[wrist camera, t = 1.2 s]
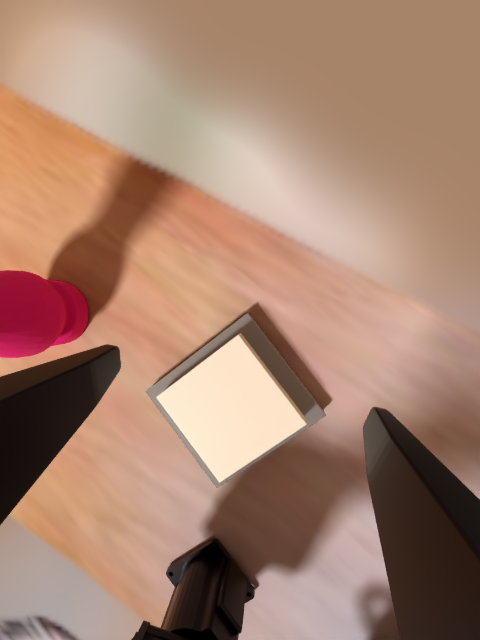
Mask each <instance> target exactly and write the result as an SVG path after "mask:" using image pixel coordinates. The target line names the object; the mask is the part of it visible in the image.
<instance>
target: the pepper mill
mask: <svg viewBox="0 0 480 640" xmlns="http://www.w3.org/2000/svg"><path fill="white" fill-rule="evenodd" d="M87 322H88V306H87V303H86V300H85V298H84V296H83V295H82V293H81V292H80V291H79V290H78V289H77V288H76V287H75V286H73V285H71V284H70V283H67V282H64V281H55V280H45V279H44V278H42V277H40V276H38V275H36V274H33V273H30V272H25V271H8V270H7V271H0V357H4V358H18V357H26V356H32V355H35V354H38V353H41V352H43V351H45V350H46V349H47V348H49V347H50V346H54V345H59V344H65V343H69V342H71V341H73V340H75V339H77V338H78V337H79V336H80V335H81V334H82V333H83V331H84V330H85V328H86V325H87Z"/></svg>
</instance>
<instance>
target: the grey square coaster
mask: <svg viewBox="0 0 480 640" xmlns="http://www.w3.org/2000/svg"><path fill="white" fill-rule="evenodd" d="M146 393H147V395H148V396H149V397H150V399H151V400H152V401H153V403H154V404H155V405H156V407H157V408H158V409H159V411H160V412H161V413H162V415H163V416H164V417H165V419H166V420H167V421H168V423H169V424H170V426H171V427H172V428H173V430H174V431H175V432H176V434H177V435H178V436H179V438H180V439H181V440H182V442H183V443H184V444H185V446H186V447H187V448H188V450H189V451H190V452H191V454H192V455H193V457H194V458H195V459H196V461H197V462H198V463H199V465H200V466H201V467H202V469H203V470H204V471H205V473H206V474H207V475H208V477H209V478H210V479H211V481H212V482H213V483H214V485H215V486H216V488H218V487H220V486H221V485H223V484H224V483H226V482H227V481H229V480H230V479H232V478H233V477H235V476H236V475H238V474H239V473H241V472H242V471H244V470H245V469H247V468H248V467H250V466H251V465H253V464H254V463H256V462H257V461H259V460H260V459H262V458H263V457H265V456H266V455H268V454H269V453H271V452H272V451H274V450H275V449H277V448H278V447H280V446H281V445H283V444H284V443H286V442H287V441H289V440H290V439H292V438H293V437H295V436H296V435H298V434H299V433H301V432H302V431H304V430H305V429H307V428H308V427H310V426H311V425H313V424H314V423H316V422H317V421H319V420H320V419H322V418H323V417H325V416H326V415H325V412H324V410H323V409H322V408H321V406H320V405H319V404H318V402H317V401H316V400H315V398H314V397H313V396H312V394H311V393H310V392H309V391H308V389H307V388H306V387H305V385H304V384H303V383H302V381H301V380H300V379H299V378H298V376H297V375H296V374H295V372H294V371H293V370H292V368H291V367H290V366H289V364H288V363H287V362H286V361H285V359H284V358H283V357H282V355H281V354H280V353H279V351H278V350H277V349H276V347H275V346H274V345H273V344H272V342H271V341H270V340H269V338H268V337H267V336H266V334H265V333H264V332H263V331H262V329H261V328H260V327H259V325H258V324H257V323H256V321H255V320H254V319H253V317H252V316H251V315H250V314H249V313H247V314H245V315H244V316H243V317H241V318H240V319H239V320H238V321H236V322H235V323H234V324H232V325H231V326H230V327H229V328H227V329H226V330H225V331H223V332H222V333H221V334H219V335H218V336H217V337H216V338H214V339H213V340H212V341H210V342H209V343H208V344H206V345H205V346H204V347H203V348H201V349H200V350H199V351H197V352H196V353H195V354H194V355H192V356H191V357H190V358H188V359H187V360H186V361H184V362H183V363H182V364H181V365H179V366H178V367H177V368H175V369H174V370H173V371H171V372H170V373H169V374H168V375H166V376H165V377H164V378H162V379H161V380H160V381H159V382H157V383H156V384H155V385H153V386H152V387H151V388H149V389H148V390H147V391H146Z"/></svg>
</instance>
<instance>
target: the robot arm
mask: <svg viewBox="0 0 480 640" xmlns="http://www.w3.org/2000/svg"><path fill="white" fill-rule="evenodd" d="M120 368H121V360H120V350H119V348H118V347H117V346H113V345H108V344H107V345H103V346H100V347H96V348H93V349H90V350H87V351H83V352H80V353H77V354H74V355H70V356H67V357H64V358H60V359H57V360H54V361H51V362H47V363H44V364H41V365H37V366H34V367H31V368H28V369H24V370H21V371H18V372H14V373H11V374H8V375H5V376H1V377H0V525H1V524H2V522H3V521H4V520H5V519H6V518H7V516H8V515H9V514H10V513H11V511H12V510H13V509H14V508H15V506H16V505H17V504H18V503H19V501H20V500H21V499H22V498H23V496H24V495H25V494H26V493H27V491H28V490H29V489H30V488H31V487H32V485H33V484H34V483H35V482H36V480H37V479H38V478H39V477H40V475H41V474H42V473H43V472H44V470H45V469H46V468H47V467H48V465H49V464H50V463H51V462H52V460H53V459H54V458H55V457H56V455H57V454H58V453H59V452H60V451H61V449H62V448H63V447H64V446H65V444H66V443H67V442H68V441H69V439H70V438H71V437H72V436H73V434H74V433H75V432H76V431H77V429H78V428H79V427H80V426H81V424H82V423H83V422H84V421H85V420H86V418H87V417H88V416H89V415H90V413H91V412H92V411H93V409H94V408H95V407H96V406H97V404H98V403H99V401H100V400H101V398H102V397H103V395H104V394H105V392H106V391H107V389H108V388H109V386H110V385H111V383H112V381H113V380H114V378H115V377H116V375H117V374H118V372H119V370H120ZM363 438H364V448H365V459H366V470H367V478H368V484H369V489H370V494H371V498H372V503H373V508H374V513H375V518H376V523H377V528H378V533H379V537H380V542H381V547H382V552H383V557H384V562H385V567H386V571H387V576H388V581H389V586H390V591H391V596H392V601H393V605H394V610H395V615H396V620H397V625H398V630H399V635H400V639H401V640H480V499H478V498H477V497H476V496H475V495H474V494H473V493H472V492H471V491H470V490H469V489H468V488H467V487H466V486H465V485H464V484H463V483H462V482H461V481H460V480H459V479H458V478H457V477H456V476H455V475H454V474H453V473H452V472H451V471H450V470H449V469H448V468H447V467H446V466H445V465H444V464H443V463H441V462H440V461H439V460H438V459H437V458H436V457H435V456H434V455H433V454H432V453H431V452H430V451H429V450H428V449H427V448H426V447H425V446H424V445H423V444H422V443H421V442H420V441H419V440H418V439H417V438H416V437H415V436H414V435H413V434H412V433H411V432H410V431H409V430H408V429H407V428H405V427H404V426H403V425H402V424H401V423H400V422H399V421H398V420H397V419H396V418H395V417H394V416H393V415H392V414H391V413H390V412H389V411H388V410H386V409H383V408H378V407H373V408H372V409H371V411H370V413H369V415H368V417H367V419H366V421H365V423H364V426H363ZM214 545H216V546H214ZM166 575H167V577H168V578H169V579H170V581H171V582H172V584H173V585H174V586H175V588H174V591H173V594H172V597H171V600H170V603H169V606H168V608H167V611H166V614H165V617H164V620H163V623H162V626H161V628H159V627H156V626H153V625H150V622H147V621H143V623H142V625H141V627H140V629H139V631H138V632H136V634H135V636H134V637H133V638H132V640H238V635H239V633H241V631H242V624H243V614H244V604H245V603H246V602H248V601H250V600H252V599H253V598H254V593H255V590H254V588H253V586H252V585H251V584H250V582H249V581H248V580H247V578H246V577H245V575H244V574H243V573H242V571H241V570H240V569H239V567H238V566H237V564H236V563H235V562H234V560H233V559H232V558H231V556H230V555H229V554H228V552H227V551H226V550H225V548H224V547H223V546H222V544H221V543H220V542H219V540H218V539H211V540H210V541H208V542H207V543H205V544H203V545H202V546H200V547H199V548H197V549H195V550H194V551H192V552H191V553H189V554H188V555H186V556H184V557H183V558H181V559H180V560H178V561H176V562H175V563H173V564H172V565H170V566H169V567H168V569H167V572H166ZM249 592H250V593H249Z"/></svg>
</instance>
